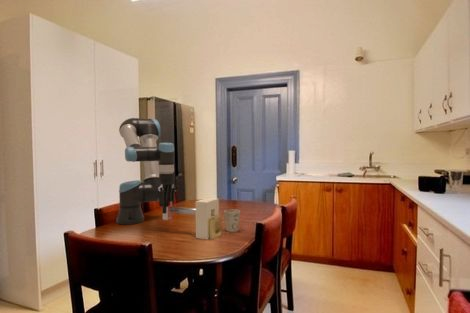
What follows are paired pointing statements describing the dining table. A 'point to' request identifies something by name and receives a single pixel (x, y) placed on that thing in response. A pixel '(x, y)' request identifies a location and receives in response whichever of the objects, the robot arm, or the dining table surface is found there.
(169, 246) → the dining table surface
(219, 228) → the spacer
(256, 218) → the dining table surface
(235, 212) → the mug
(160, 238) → the dining table surface
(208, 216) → the block
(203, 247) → the dining table surface
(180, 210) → the shaft
